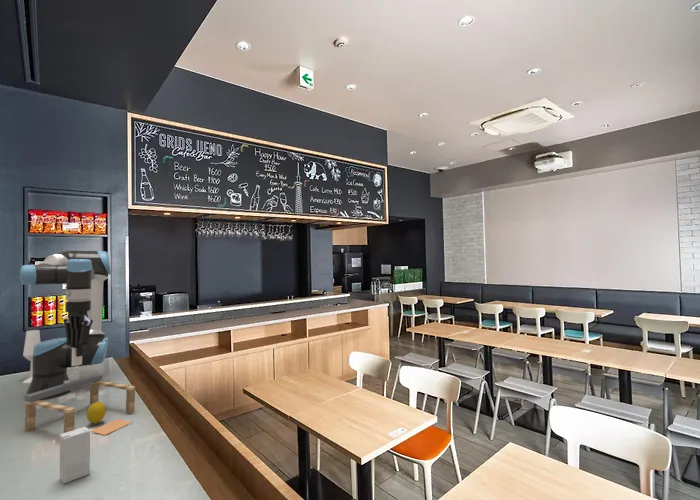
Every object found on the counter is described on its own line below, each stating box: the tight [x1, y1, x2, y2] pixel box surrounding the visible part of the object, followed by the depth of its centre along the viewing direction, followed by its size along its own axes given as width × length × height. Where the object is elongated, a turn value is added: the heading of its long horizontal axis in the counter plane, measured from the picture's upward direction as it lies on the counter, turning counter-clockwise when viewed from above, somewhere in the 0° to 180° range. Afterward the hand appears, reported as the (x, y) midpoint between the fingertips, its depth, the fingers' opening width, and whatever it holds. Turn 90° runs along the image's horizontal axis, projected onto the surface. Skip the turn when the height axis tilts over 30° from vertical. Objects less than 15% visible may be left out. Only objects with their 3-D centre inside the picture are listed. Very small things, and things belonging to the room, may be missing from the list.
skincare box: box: [59, 426, 91, 484], centre depth 99 cm, size 6×4×12 cm
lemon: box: [86, 400, 107, 425], centre depth 130 cm, size 6×6×8 cm
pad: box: [90, 418, 133, 436], centre depth 127 cm, size 7×10×1 cm
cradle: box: [24, 380, 136, 433], centre depth 133 cm, size 22×24×10 cm
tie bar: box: [24, 373, 104, 403], centre depth 136 cm, size 3×25×3 cm, turn 160°
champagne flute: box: [22, 329, 41, 384], centre depth 176 cm, size 7×7×24 cm
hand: (76, 364), depth 134 cm, fingers closed
